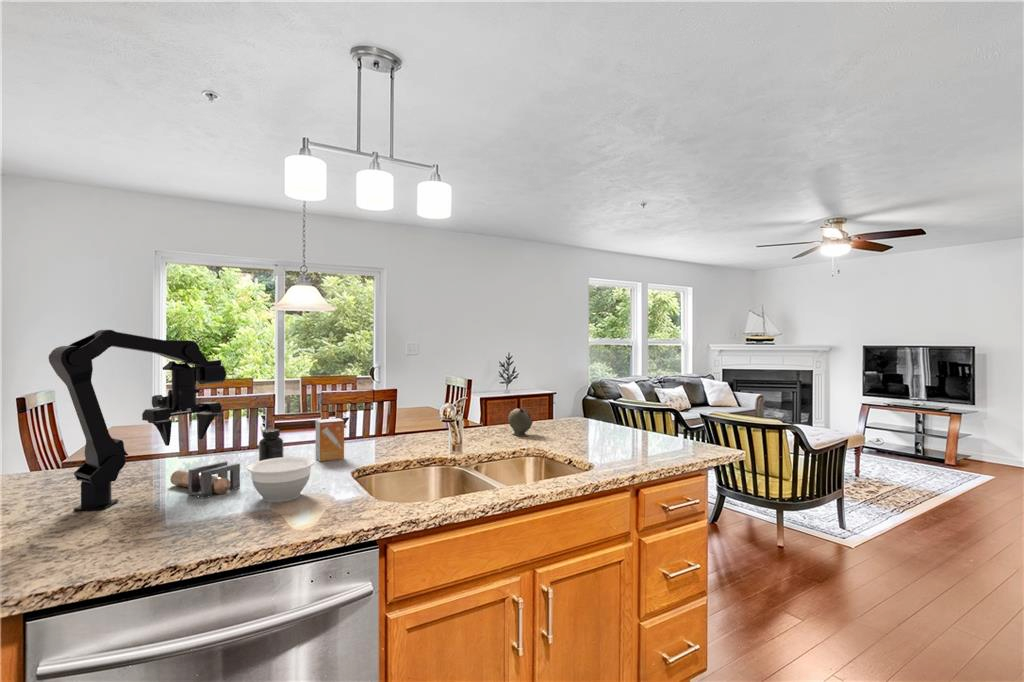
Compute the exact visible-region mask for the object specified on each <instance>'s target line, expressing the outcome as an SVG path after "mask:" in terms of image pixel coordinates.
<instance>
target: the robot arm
mask: <svg viewBox="0 0 1024 682" xmlns="http://www.w3.org/2000/svg"><path fill="white" fill-rule="evenodd" d="M111 347H113V348H119V349H124V350H133V351H138V352H145V353H151V354H155V355H158V356H160V357H163V358H165V359H168V360H169V361H168V362H167V364H166V365H164V366H163V367H162V370H163V371H171V389H169V390H168V391H167V396H163V395H162V394H157V395H156V394H155V395H153V396H151V407H152V408H149V409H148V408H146V409H145V410H143V412H142V414H141V416H142V417H141V418H142V419H141V420H142V421H147V422H148V423H149V424H153V425H154V426H155V427H156V429H157V430H158V432H159V434H160V437H161V439H162V441H163V443H164V446H170V443H171V437H172V435H171V434H172V433H171V432H172V423H173V421H172V420H169V419H170V418H171V417H174V416H181V415H183V416H184V415H190V414H195V416H196V418H197V420H198V427H197V431H198V433H197V434H198V435H197V436H198V439H199V440H203V439H204V437H205V435H206V433H207V431H208V429H209V427H210V425H211V423H212V422H213V420H214V419H215V417H217V416H218V414H219V413H223V406H222V404H221V403H220V401H219V402H218V401H205V402H198V403H197V394H199V393H200V389H199V388H197V383H199V385H208V384H209V385H210V384H211V385H213V384H222V383H223V382H224V381H225V380H226V378H227V371H226V368H225V366H224V365H223V364H222V360H221V359H212V360H208V359H207V358H206V357H205V355H204V354H203V353H202V351H200V347H199V345H198V343H197V342H196V341H193V340H183V339H181V340H179V339H178V340H177V339H176V340H173V339H172V340H170V339H159V338H153V337H149V336H142V335H136V334H131V333H127V332H119V331H115V330H113V329H98V330H96V331H95V332H94V333H92V334H90V335H88V336H85V337H84V338H82V339H79V340H76V341H75V342H72V343H70V344H68V345H61V346H58V347H55V348H54V349H53V350H52V351H51V352H50V354H49V355H48V361H49V364H50V365H51V368H52V369H53V371H54V373H56V375H57V377H59V378H60V380H61V381H62V382H63V383H64V384H65V386H66V388H67V390H68V393H69V396H70V398H71V402H72V404H73V407H74V409H75V412H76V415H77V418H78V422H79V424H80V427H81V430H82V433H83V435H84V436H83V437H84V438H85V447H84V458H85V459H84V460H85V462H84V463H83V464H81V465H80V466H79V467H78V469H76V470H75V472H73V476H74V477H75V479H76V481H77V482H80V505H78V506H76V507H74V508H73V509H72V511H74V512H76V511H77V512H79V511H97V510H105V509H107V508H109V507H110V506H112V505H114V504H116V503H118V502H119V499H118V498H112V496H113V495H112V483H113V482H115V481H117V479H118V477H119V474H120V472H121V470H122V469H123V468H124V467H125V465H126V463H127V458H126V456H129V454H128V452H126V450H125V443H124V440H121V439H117V438H113V437H112V436H111V435H110V432H109V429H108V427H107V424H106V421H105V418H104V415H103V412H102V408H101V406H100V403H99V401H98V400H99V399H98V398H97V395H96V391H95V389H94V385H93V383H92V375H93V371H94V370H93V369H94V367H93V360H94V359H96V358H98V357H99V356H100V355H102V354H103V353H104V352H106V351H107V350H108V349H109V348H111ZM177 362H182V363H177ZM191 365H194V366H191Z"/></svg>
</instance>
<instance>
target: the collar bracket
mask: <svg viewBox="0 0 1024 682" xmlns="http://www.w3.org/2000/svg"><path fill="white" fill-rule="evenodd" d="M188 472H189V488H188V496H191V495H194V496H193V497H196V496H199V497H198V498H200V497H207V498H209V497H208V496H210V497H212V496H213V495H212V494H213V492H212V476H215V475H217V477H221V478H227V479H229V481H230V483H231V485H230V488H229V490H232V489H234V490H236V489H235V488H237V489H239V488H238V487H240V488H241V482H240V481H241V477H240V476H241V463H238V462H236V463H232V464H228V461H220V462H216V463H212V464H207V465H203V466H199V467H194V468H191V469H188ZM228 472H229V474H228ZM199 474H201V490H199ZM228 475H230V476H229V478H228ZM211 495H212V496H211Z"/></svg>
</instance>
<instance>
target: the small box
mask: <svg viewBox="0 0 1024 682" xmlns="http://www.w3.org/2000/svg"><path fill="white" fill-rule="evenodd" d="M316 458H317V459H318V460H317V459H316ZM315 459H316V460H317V461H319V462H325V461H326V460H327V461H337V460H344V459H345V420H344V419H342V418H337V417H336V418H328V419H327V418H326V419H315ZM336 459H337V460H336Z"/></svg>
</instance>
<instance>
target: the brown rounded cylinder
mask: <svg viewBox="0 0 1024 682" xmlns="http://www.w3.org/2000/svg"><path fill="white" fill-rule="evenodd" d="M170 483H171V484H172V485H174V486H178V487H183V488H188V489H189V471H186V470H181V469H179V470H178V469H177V470H175V471H174V472H172V474H171V476H170ZM230 485H231V483H230V478H228V479H227V478H221V477H218V476H215V475H212V494H213V493H214V494H219V495H224V494H226V493H228V491H229V490H230ZM199 490H200V491H201V473H199ZM223 493H224V494H223Z"/></svg>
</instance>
